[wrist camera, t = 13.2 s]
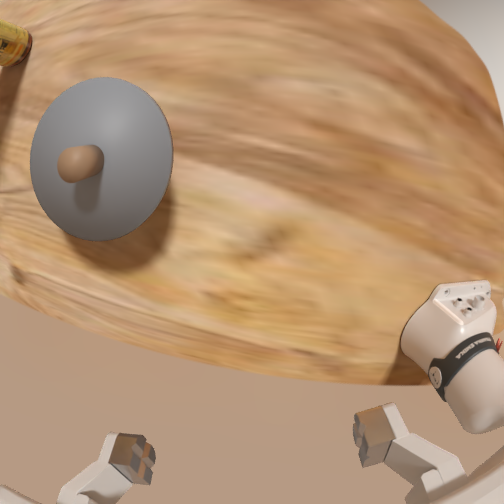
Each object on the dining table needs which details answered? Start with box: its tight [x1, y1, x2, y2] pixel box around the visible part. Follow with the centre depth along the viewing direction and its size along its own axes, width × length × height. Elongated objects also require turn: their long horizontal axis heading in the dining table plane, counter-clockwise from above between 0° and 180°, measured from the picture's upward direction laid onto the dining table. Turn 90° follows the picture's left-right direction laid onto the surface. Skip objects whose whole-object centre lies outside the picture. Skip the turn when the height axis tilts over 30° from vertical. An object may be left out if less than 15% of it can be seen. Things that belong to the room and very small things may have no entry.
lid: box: [30, 77, 173, 241], centre depth 23 cm, size 17×17×5 cm
